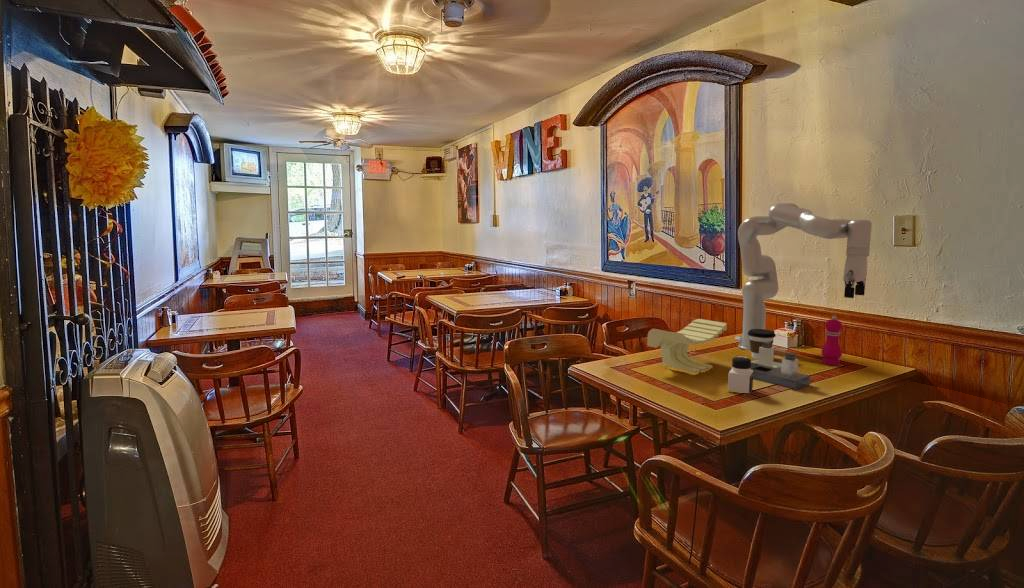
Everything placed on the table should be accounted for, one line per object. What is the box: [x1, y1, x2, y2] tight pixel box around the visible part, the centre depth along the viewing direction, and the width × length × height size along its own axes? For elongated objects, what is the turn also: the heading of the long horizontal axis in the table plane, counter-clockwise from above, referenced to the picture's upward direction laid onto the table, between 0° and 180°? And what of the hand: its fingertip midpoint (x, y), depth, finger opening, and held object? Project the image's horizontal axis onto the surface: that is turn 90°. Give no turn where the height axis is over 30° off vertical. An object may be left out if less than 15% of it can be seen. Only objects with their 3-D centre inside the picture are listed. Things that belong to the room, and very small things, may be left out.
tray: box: [751, 359, 782, 369], centre depth 220 cm, size 11×11×2 cm
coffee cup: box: [748, 328, 777, 360], centre depth 233 cm, size 11×11×12 cm
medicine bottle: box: [727, 356, 754, 394], centre depth 192 cm, size 7×7×12 cm
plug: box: [757, 342, 775, 367], centre depth 219 cm, size 4×4×10 cm
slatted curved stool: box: [646, 318, 728, 373], centre depth 220 cm, size 30×16×18 cm, turn 127°
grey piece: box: [751, 352, 811, 391], centre depth 204 cm, size 24×10×12 cm, turn 36°
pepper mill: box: [821, 315, 843, 366], centre depth 224 cm, size 7×7×20 cm
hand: (854, 296), depth 212 cm, fingers open, 9 cm apart
